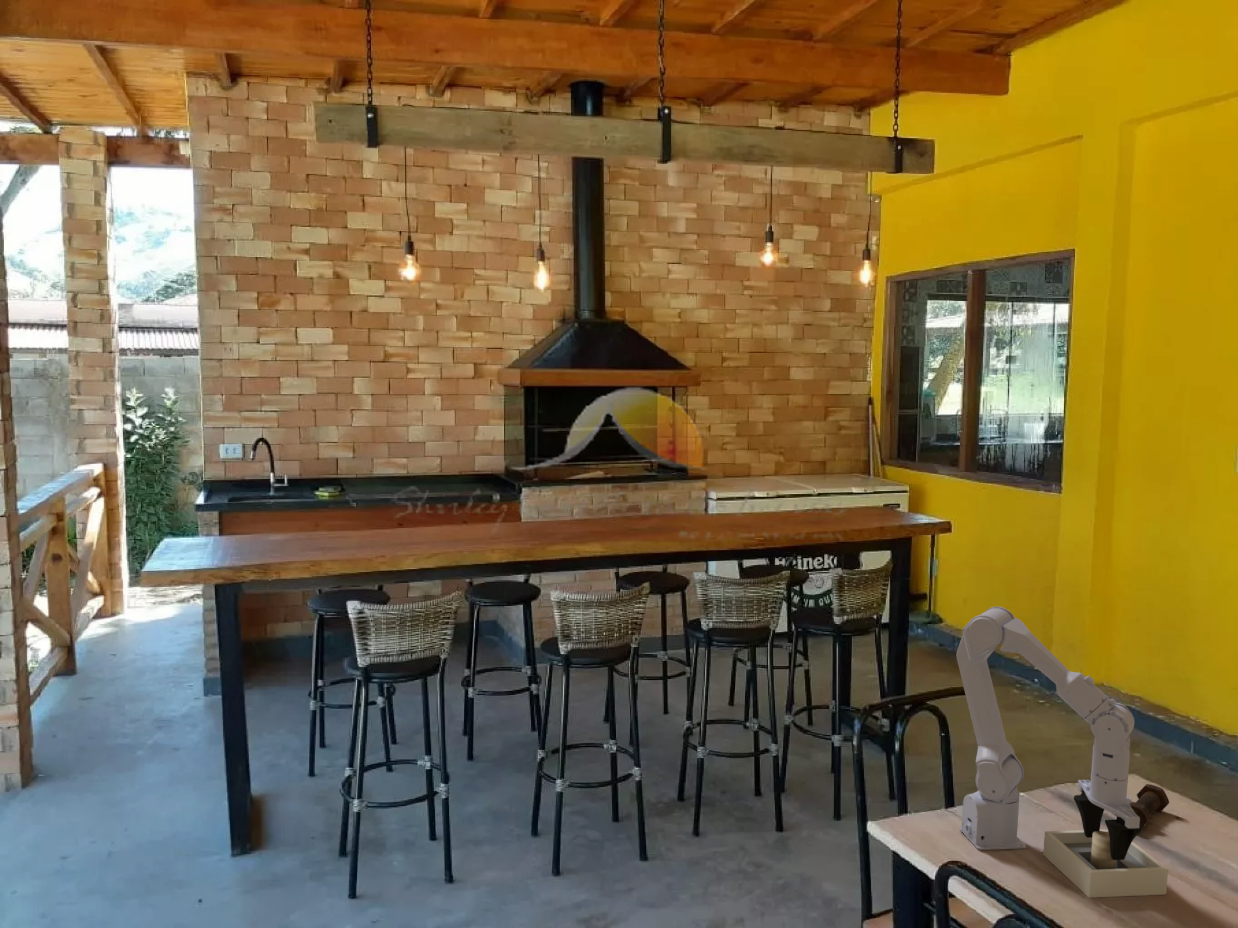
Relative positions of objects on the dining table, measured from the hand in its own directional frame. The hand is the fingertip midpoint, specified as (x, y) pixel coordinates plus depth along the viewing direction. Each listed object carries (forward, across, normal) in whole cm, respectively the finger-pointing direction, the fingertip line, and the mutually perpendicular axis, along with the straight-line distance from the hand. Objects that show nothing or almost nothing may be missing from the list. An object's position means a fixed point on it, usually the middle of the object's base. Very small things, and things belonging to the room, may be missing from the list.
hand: (1104, 847), depth 163 cm
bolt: (+5, +19, -20) cm, 28 cm away
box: (+5, 0, 0) cm, 5 cm away
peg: (+5, 0, 0) cm, 5 cm away
